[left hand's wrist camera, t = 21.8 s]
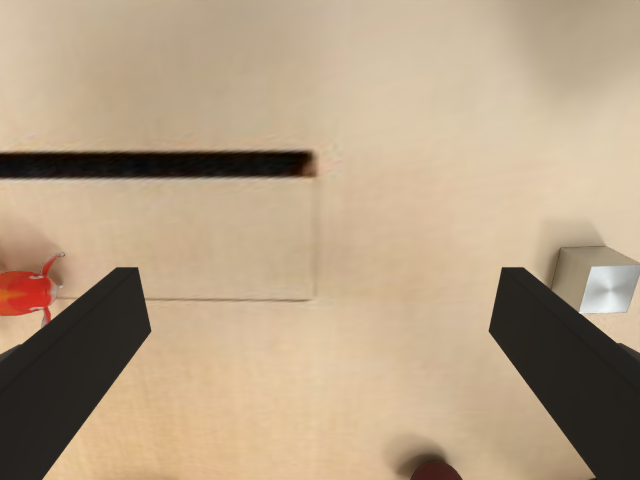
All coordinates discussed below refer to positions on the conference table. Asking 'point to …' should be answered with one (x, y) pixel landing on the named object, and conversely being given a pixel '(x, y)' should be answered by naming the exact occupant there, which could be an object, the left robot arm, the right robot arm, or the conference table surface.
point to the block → (595, 279)
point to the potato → (435, 472)
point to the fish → (28, 291)
